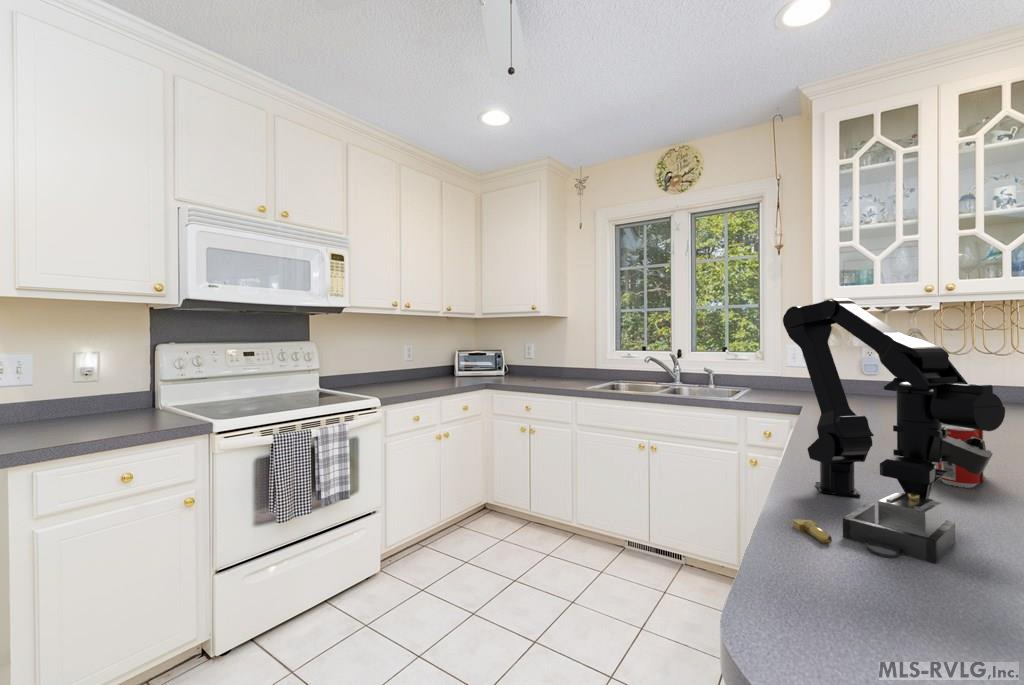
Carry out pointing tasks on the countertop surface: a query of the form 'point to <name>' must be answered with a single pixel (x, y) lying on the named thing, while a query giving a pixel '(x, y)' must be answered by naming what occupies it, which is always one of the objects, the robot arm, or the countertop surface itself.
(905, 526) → the block
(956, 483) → the beverage can
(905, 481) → the robot arm
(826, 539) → the gold elongated piece
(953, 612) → the countertop surface
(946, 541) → the bracket
